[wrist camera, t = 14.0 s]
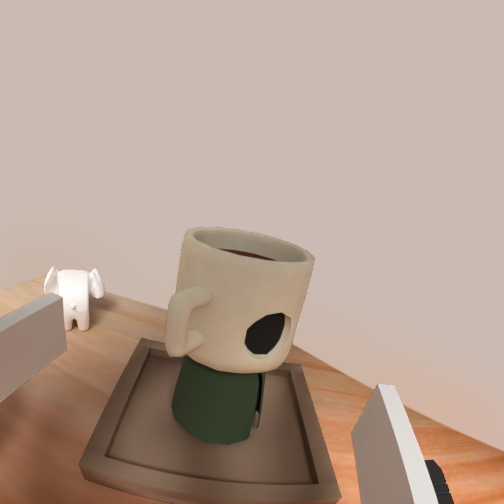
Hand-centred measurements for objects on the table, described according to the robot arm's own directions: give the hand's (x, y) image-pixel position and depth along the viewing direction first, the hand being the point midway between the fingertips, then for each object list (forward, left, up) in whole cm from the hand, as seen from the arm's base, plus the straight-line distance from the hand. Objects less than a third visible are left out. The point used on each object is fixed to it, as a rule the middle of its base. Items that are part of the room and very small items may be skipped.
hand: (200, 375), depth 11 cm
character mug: (-1, -7, -9) cm, 12 cm away
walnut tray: (-1, -7, -10) cm, 12 cm away
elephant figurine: (+15, -17, -10) cm, 24 cm away
